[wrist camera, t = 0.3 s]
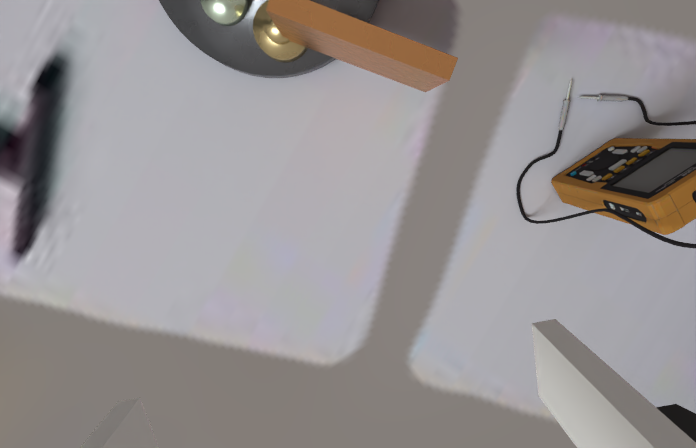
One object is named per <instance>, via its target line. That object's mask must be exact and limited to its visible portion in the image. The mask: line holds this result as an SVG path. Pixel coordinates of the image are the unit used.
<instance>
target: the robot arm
mask: <svg viewBox="0 0 696 448" xmlns="http://www.w3.org/2000/svg"><path fill="white" fill-rule="evenodd" d="M532 332H533V342H534V353H535V363H536V374H537V384H538V395H539V397H540V398H541V400H542V401H543V402H544V404H545V405H546V406H547V408H548V409H549V410H550V412H551V413H552V414H553V416H554V417H555V418H556V420H557V421H558V423H559V424H560V425H561V427H562V428H563V429H564V431H565V432H566V433H567V434H568V436H569V437H570V439H571V440H572V441H573V443H574V444H575V445H576V447H577V448H696V414H695V413H693V412H691V411H689V410H687V409H685V408H683V407H681V406H679V405H677V404H673V405H668V406H662V407H657V408H656V407H655V406H654V405H653V404H651V403H650V402H649V401H648V400H647V399H646V398H645V397H643V396H642V395H641V394H640V393H639V392H638V391H637V390H635V389H634V388H633V387H632V386H631V385H630V384H629V383H627V382H626V381H625V380H624V379H623V378H622V377H621V376H620V375H618V374H617V373H616V372H615V371H614V370H613V369H612V368H610V367H609V366H608V365H607V364H606V363H605V362H604V361H602V360H601V359H600V358H599V357H598V356H597V355H596V354H595V353H593V352H592V351H591V350H590V349H589V348H588V347H587V346H585V345H584V344H583V343H582V342H581V341H580V340H579V339H577V338H576V337H575V336H574V335H573V334H572V333H571V332H569V331H568V330H567V329H566V328H565V327H564V326H563V325H562V324H560V323H559V322H558V321H557V320H556V319H553V320H548V321H542V322H537V323H532ZM80 448H159V446H158V443H157V441H156V438H155V435H154V433H153V430H152V428H151V425H150V422H149V420H148V417H147V414H146V412H145V409H144V406H143V404H142V401H141V399H140V398H134V399H129V400H124V401H118V402H117V403H116V405H115V406H114V407H113V408H112V409H111V411H110V412H109V413H108V414H107V415H106V417H105V418H104V419H103V420H102V421H101V423H100V424H99V425H98V426H97V428H96V429H95V430H94V431H93V432H92V434H91V435H90V436H89V437H88V438H87V440H86V441H85V442H84V443H83V445H82V446H81V447H80Z"/></svg>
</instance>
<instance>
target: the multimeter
mask: <svg viewBox="0 0 696 448" xmlns="http://www.w3.org/2000/svg"><path fill="white" fill-rule="evenodd" d="M571 84H572V78H571V80H570V83H569V87H568V92H567V97H566V100H563V108H562V112H561V117H560V122H559V134H558V139H557V143H556V147H555V149H554V151H553V152H552V153H550V154H548V155H546V156H543V157H540V158H538V159H536V160H534V161H533V162H531V163H530V164H529V165H528V166H527V167H526V169H525V170H524V172H523V173H522V174H521V176H520V178H519V180H518V184H517V199H518V204H519V207H520V211H521V214H522V215H523V217H524V218H525V220H527V221H529V222H531V223H537V224H538V223H550V222H556V221H561V220H565V219H569V218H573V217H577V216H581V215H585V214H589V213H597V214H600V215H603V216H606V217H610V218H613V219H616V220H619V221H622V222H625V223H629V224H632V225H634V226H635V227H637V228H639V229H640V230H642V231H644V232H646V233H647V234H649V235H651V236H653V237H655V238H657V239H660V240H662V241H664V242H667V243H670V244H673V245H677V246H681V247H688V248H696V244H690V243H683V242H678V241H674V240H671V239H668V238H666V237H663V236H661V235H659V234H656V233H654V232H657V233H660V234H664V235H667V234H670V233H673V232H675V231H677V230H678V229H680V228H682V227H684V226H685V225H686V224H687V223H689V222H691V221H692V220H694V219H696V139H633V138H629V139H628V138H615V139H612V140H610V141H609V142H607V143H605V144H604V145H603V146H602V147H600V148H599V149H597V150H596V151H594V152H593V153H591V154H590V155H588V156H587V157H585V158H584V159H582V160H580V161H579V162H577V163H576V164H574V165H573V166H571V167H570V168H568V169H567V170H565V171H564V172H562V173H561V174H558V175H557V176H555V177H554V178H553V179H552V182H551V183H552V185H553V186H554V188H555V190H556V191H557V193H558V195H559V197H560V198H561V200H562V202H563V203H567V204H570V205H573V206H576V207H579V208H582V209H585V210H588V211H586V212H582V213H578V214H574V215H570V216H566V217H562V218H558V219H553V220H547V221H534V220H531V219H529V218H527V217H526V215H525V214H524V211H523V208H522V204H521V200H520V192H519V189H520V183H521V180H522V178H523V176H524V175H525V173H526V172H527V171H528V169H529V168H530V167H531V166H532V165H533V164H534V163H536V162H538V161H539V160H542V159H545V158H548V157H550V156H552V155H553V154H555V153H556V151H557V149H558V147H559V143H560V139H561V134H562V130H563V128H564V125H565V121H566V116H567V112H568V107H569V103H570V100H568V99H569V94H570V89H571ZM579 98H586V99H597V101H626V100H633V101H636V102H638V103H639V104H640V106H641V109H642V111H643V115H644V119H645V121H646V122H648V123H650V124H654V125H664V126H672V125H690V124H696V121H690V122H676V123H658V122H652V121H650V120H649V119H648V117H647V113H646V110H645V107H644V105H643V103H642V101H641V100H639V99H637V98H631V97H626V96H614V95H601V94H600V95H598V97H593V96H581V97H579ZM653 231H654V232H653Z"/></svg>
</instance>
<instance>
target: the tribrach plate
mask: <svg viewBox="0 0 696 448" xmlns="http://www.w3.org/2000/svg"><path fill="white" fill-rule="evenodd" d="M159 1H160V3H161V5H162V6H163V8H164V10H165V11H166V13H167V15H168V16H169V18H170V19H171V20H172V22H173V23H174V24H175V25H176V27H177V28H178V29H179V30H180V32H181V33H182V34H183V35H184V36H185V37H186V38H187V39H188V40H189V41H190V42H191V43H193V44H194V45H195V46H196V47H198V48H199V49H200V50H201V51H203V52H204V53H205V54H207V55H209V56H210V57H212V58H214V59H215V60H217V61H219V62H220V63H222V64H224V65H225V66H228V67H230V68H232V69H234V70H237V71H239V72H242V73H246V74H249V75H253V76H259V77H265V78H286V77H294V76H299V75H302V74H306V73H310V72H312V71H314V70H317V69H319V68H321V67H323V66H325V65H327V64H328V63H330V62H332V61H333V60H335V59H336V58H333V57H331V56H328V55H326V54H323V53H320V52H318V51H315V50H312V49H310V48H308V49H307V51H306V52H305V54H304V55H303V56H302V57H300V58H299V59H297V60H295V61H293V62H288V63H283V62H278V61H276V60H274V59H272V58H270V57H269V56H268V55H267V54H266V53H265V52H264V51H263V50H262V49H261V48H260V46H259V45H258V43H257V42H256V39H255V37H254V33H253V20H254V16H255V14H256V12H257V10H258V8H259V7H260V6H261V5H262V4H263V3H264V2H266V1H267V0H159ZM310 1H313V2H315V3H318V4H320V5H323V6H326V7H328V8H331V9H333V10H336V11H338V12H341V13H344V14H346V15H349V16H351V17H354V18H356V19H359V20H361V21H364V22H367V23H368V22H369V21H370V19H371V17H372V15H373V13H374V11H375V8H376V6H377V3H378V1H379V0H310Z"/></svg>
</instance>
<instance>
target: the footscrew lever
mask: <svg viewBox="0 0 696 448" xmlns="http://www.w3.org/2000/svg"><path fill="white" fill-rule="evenodd" d="M253 33H254V37H255V39H256V42H257V43H258V45H259V46H260V48H261V49H262V50H263V51H264V52H265V53H266V54H267V55H268V56H269V57H270V58H272V59H274V60H276V61H278V62H283V63H288V62H293V61H295V60H297V59H299V58H300V57H302V56H303V55H304V54H305V52H306V51H307V49H308V48H310V49H312V50H315V51H318V52H320V53H323V54H326V55H328V56H331V57H333V58H336V59H339V60H341V61H344V62H347V63H349V64H352V65H355V66H357V67H360V68H363V69H365V70H368V71H371V72H373V73H376V74H378V75H381V76H384V77H386V78H389V79H392V80H394V81H397V82H400V83H402V84H405V85H408V86H410V87H413V88H416V89H418V90H421V91H423V92H427V91H429V90H431V89H433V88H435V87H437V86H439V85H441V84H443V83H445V82H447V81H449V80H450V77H451V75H452V72H453V70H454V67H455V65H456V62H457V59H458V58H457V57H454V56H451V55H449V54H446V53H444V52H441V51H439V50H436V49H433V48H431V47H428V46H426V45H423V44H421V43H418V42H415V41H413V40H410V39H408V38H405V37H403V36H400V35H397V34H395V33H392V32H390V31H387V30H385V29H382V28H379V27H377V26H374V25H372V24H369V23H367V22H364V21H361V20H359V19H356V18H354V17H351V16H349V15H346V14H344V13H341V12H338V11H336V10H333V9H331V8H328V7H326V6H323V5H320V4H318V3H315V2H313V1H310V0H267V1H266V2H264V3H263V4H262V5H261V6H260V7H259V8H258V10H257V12H256V14H255V16H254V20H253Z"/></svg>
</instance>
